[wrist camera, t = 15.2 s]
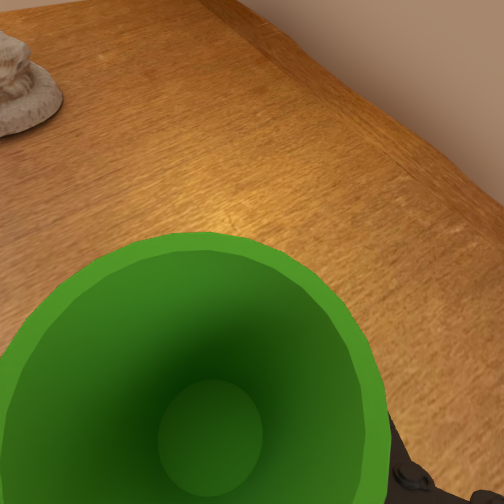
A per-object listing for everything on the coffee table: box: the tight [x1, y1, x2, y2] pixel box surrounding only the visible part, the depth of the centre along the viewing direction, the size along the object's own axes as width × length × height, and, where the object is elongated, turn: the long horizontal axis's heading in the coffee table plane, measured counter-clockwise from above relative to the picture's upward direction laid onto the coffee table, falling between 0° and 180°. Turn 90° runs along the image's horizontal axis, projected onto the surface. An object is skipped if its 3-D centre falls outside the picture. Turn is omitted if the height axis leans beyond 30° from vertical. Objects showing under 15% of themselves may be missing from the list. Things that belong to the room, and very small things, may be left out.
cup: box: [0, 232, 391, 504], centre depth 13 cm, size 9×9×11 cm
